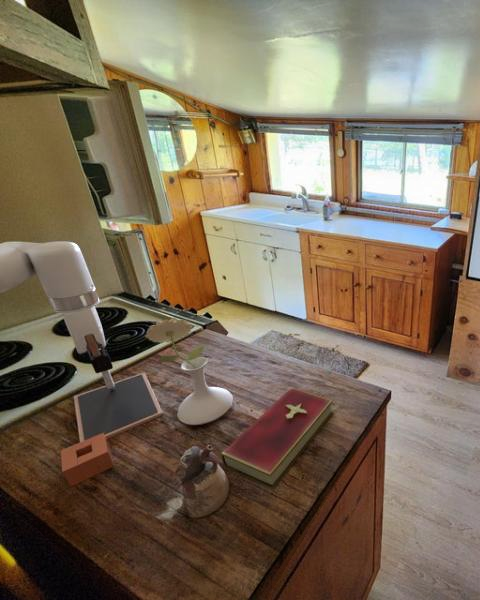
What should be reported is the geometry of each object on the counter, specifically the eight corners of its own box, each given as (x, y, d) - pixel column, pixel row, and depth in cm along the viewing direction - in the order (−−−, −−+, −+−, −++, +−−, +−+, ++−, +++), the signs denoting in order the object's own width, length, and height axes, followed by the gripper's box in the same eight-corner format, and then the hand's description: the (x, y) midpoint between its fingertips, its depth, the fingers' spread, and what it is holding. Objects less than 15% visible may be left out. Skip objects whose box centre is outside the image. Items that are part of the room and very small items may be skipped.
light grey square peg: (108, 391, 80) (92, 351, 75) (108, 389, 81) (91, 348, 76) (116, 389, 81) (100, 348, 76) (115, 386, 82) (99, 346, 77)
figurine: (193, 482, 60) (177, 436, 55) (234, 476, 62) (222, 430, 57) (178, 521, 54) (159, 473, 49) (224, 513, 56) (210, 465, 51)
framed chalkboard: (82, 449, 66) (80, 446, 65) (74, 398, 78) (73, 395, 78) (163, 415, 75) (162, 412, 75) (145, 374, 88) (144, 371, 87)
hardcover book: (223, 466, 64) (219, 451, 62) (292, 398, 82) (290, 385, 80) (272, 489, 60) (269, 473, 58) (333, 412, 78) (332, 399, 76)
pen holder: (70, 486, 59) (62, 471, 57) (68, 464, 63) (60, 450, 61) (114, 466, 63) (107, 451, 61) (110, 446, 67) (103, 432, 65)
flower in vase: (237, 391, 83) (218, 304, 73) (229, 424, 73) (206, 328, 63) (180, 399, 80) (151, 308, 69) (163, 435, 70) (126, 336, 59)
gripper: (49, 292, 73) (80, 360, 81) (51, 317, 63) (86, 391, 71) (94, 284, 78) (118, 349, 85) (102, 306, 68) (129, 377, 76)
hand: (103, 368), depth 78 cm, fingers closed on light grey square peg, 1 cm apart
